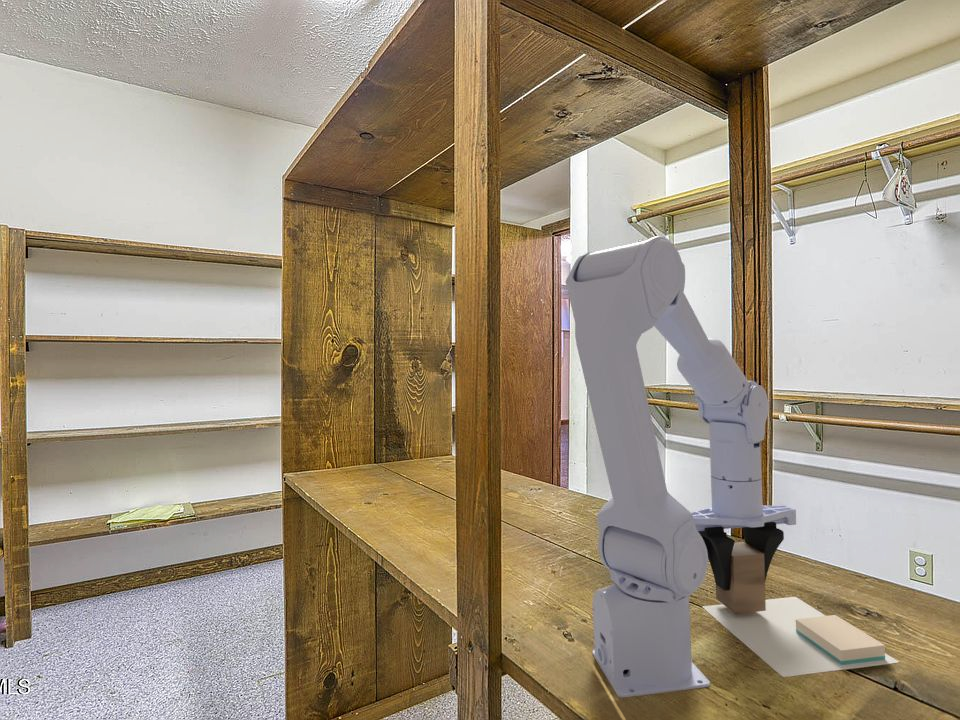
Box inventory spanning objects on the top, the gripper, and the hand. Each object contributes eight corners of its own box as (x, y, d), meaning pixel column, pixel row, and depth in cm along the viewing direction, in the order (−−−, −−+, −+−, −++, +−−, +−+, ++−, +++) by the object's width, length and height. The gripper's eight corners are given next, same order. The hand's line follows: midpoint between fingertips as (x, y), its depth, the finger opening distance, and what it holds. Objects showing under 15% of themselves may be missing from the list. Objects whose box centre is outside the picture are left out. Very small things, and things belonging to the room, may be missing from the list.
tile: (796, 632, 61) (841, 665, 54) (795, 619, 61) (841, 650, 54) (835, 627, 61) (885, 659, 55) (835, 614, 61) (884, 645, 55)
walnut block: (716, 598, 68) (714, 544, 68) (745, 595, 68) (743, 541, 68) (735, 614, 64) (733, 556, 64) (765, 610, 65) (764, 553, 64)
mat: (783, 680, 53) (782, 676, 53) (701, 609, 68) (701, 606, 68) (899, 666, 54) (899, 662, 54) (795, 599, 69) (795, 596, 69)
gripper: (698, 488, 61) (702, 605, 61) (813, 479, 63) (816, 593, 63) (668, 475, 68) (672, 580, 68) (772, 467, 70) (776, 570, 70)
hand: (739, 585), depth 66 cm, fingers closed on walnut block, 4 cm apart
